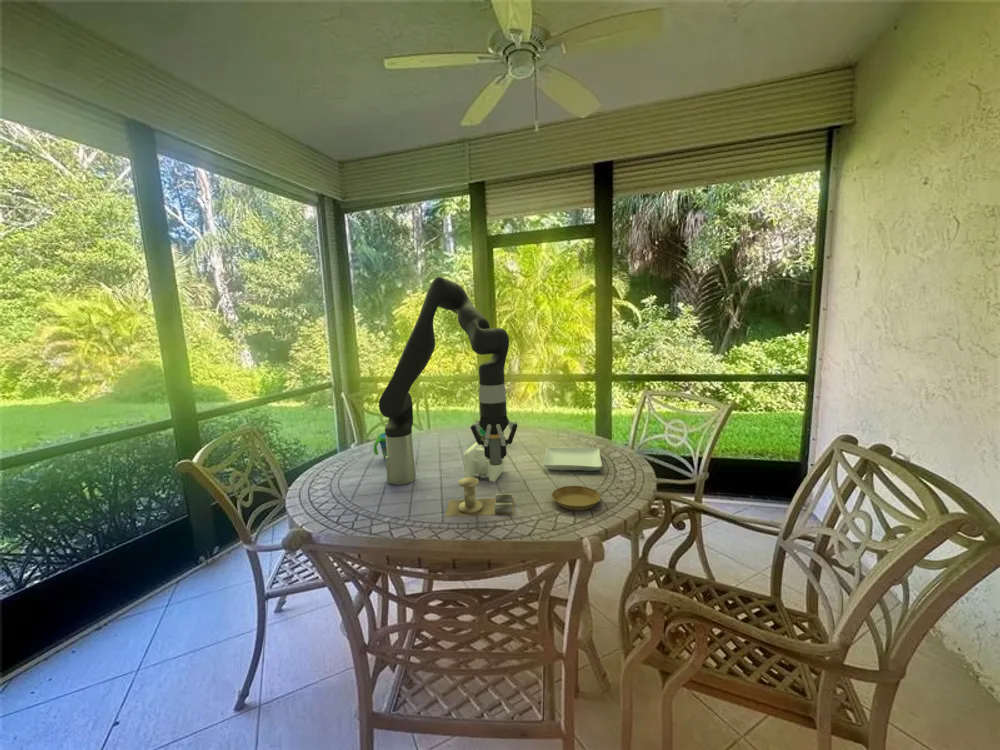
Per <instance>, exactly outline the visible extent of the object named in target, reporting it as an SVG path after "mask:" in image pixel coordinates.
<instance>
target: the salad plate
mask: <svg viewBox="0 0 1000 750" xmlns="http://www.w3.org/2000/svg"><path fill="white" fill-rule="evenodd" d="M542 465H543V467H545V468H547V469H548V470H552V471H553V470H554V471H564V470H585V471H584V472H593V471H595V472H596V471H598V470H601V468H603V462H602V458H601V451H600V448H598V447H596V448H595V447H567V446H566V447H565V446H564V447H559V446H558V447H547V448H546V449H545V456H544V459H543V463H542Z"/></svg>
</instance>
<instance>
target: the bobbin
mask: <svg viewBox="0 0 1000 750" xmlns="http://www.w3.org/2000/svg"><path fill="white" fill-rule="evenodd" d="M479 484H480V479H479V478H478V477H475V478H474V477H468V478H465V477H463V478H461V479H459V480H458V485H459V486H460V487H462V488H463V493H464V495H463V497H464V500H465V502H462V503H461V504H459V511H460V512H462V513H476V512H478V511H480V510H481V509H482V503H481V502H479V501H475V499H476V487H477V486H478V485H479Z"/></svg>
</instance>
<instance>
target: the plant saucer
mask: <svg viewBox="0 0 1000 750" xmlns="http://www.w3.org/2000/svg"><path fill="white" fill-rule="evenodd" d="M551 498H552V499H553V500H554V502H555V503H556V504H558V505H559V506H560V507H562V508H564V509H566V510H569V511H585V510H589V509H591V508H593V507H595V505H597V504H598V503H599V502H600V500H601V494H600V493H599V492H598V491H597V490H596V489H594V488H592V487H587V486H583V485H566V486H561V487H557V488H556V489H554V490H553V491H552V492H551Z"/></svg>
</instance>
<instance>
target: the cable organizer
mask: <svg viewBox="0 0 1000 750" xmlns="http://www.w3.org/2000/svg"><path fill="white" fill-rule="evenodd" d="M462 458H463V459H464V473H465V475H464V478H468V477H474V478H477V479H479V478H480V475H485V478H488V481H489V482H496V481H497V480H498V478H499V477H500V476H501V474H502V473H503V472H504V469H505V457H504V458H503V459H502V464H501V465H496V466H494V465H490V459H487V457H485V452H484V446H483V445H478V443H477V441H475V442H474V443H473V444H472V445H471V446H470V447H469V448H468V449H467V450H465V452H464V454H463V456H462Z"/></svg>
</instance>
